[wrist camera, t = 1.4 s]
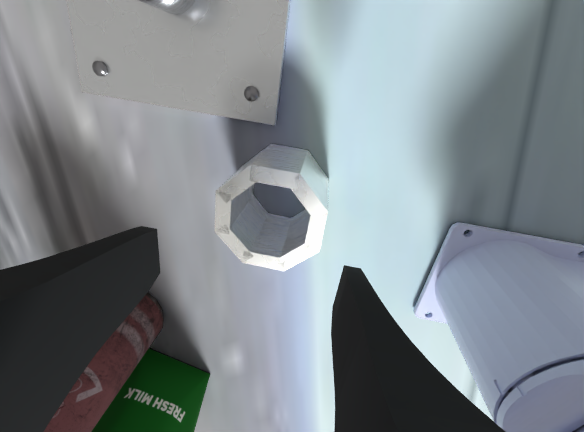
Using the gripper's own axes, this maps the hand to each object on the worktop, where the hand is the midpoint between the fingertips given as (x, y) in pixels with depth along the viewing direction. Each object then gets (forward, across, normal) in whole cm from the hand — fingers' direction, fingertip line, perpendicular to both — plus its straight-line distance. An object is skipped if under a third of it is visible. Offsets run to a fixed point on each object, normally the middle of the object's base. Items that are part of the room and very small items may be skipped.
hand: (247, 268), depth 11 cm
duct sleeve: (+9, 0, 0) cm, 9 cm away
